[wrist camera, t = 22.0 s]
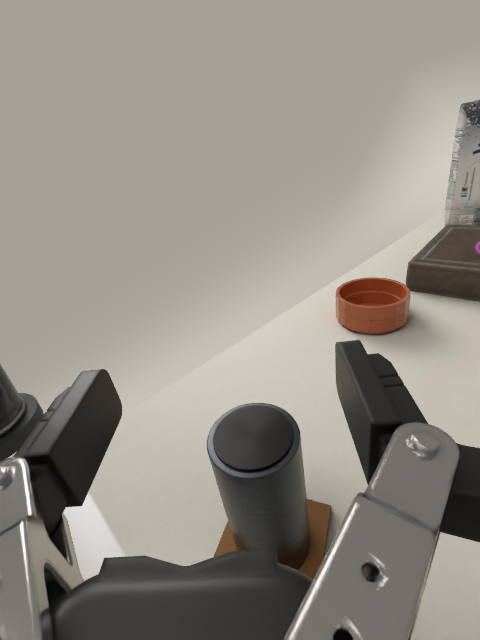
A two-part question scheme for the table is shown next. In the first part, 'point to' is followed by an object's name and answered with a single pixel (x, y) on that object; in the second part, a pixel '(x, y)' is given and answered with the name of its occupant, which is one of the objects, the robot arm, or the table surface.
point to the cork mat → (318, 537)
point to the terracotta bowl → (372, 305)
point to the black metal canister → (262, 480)
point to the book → (448, 264)
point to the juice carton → (465, 169)
